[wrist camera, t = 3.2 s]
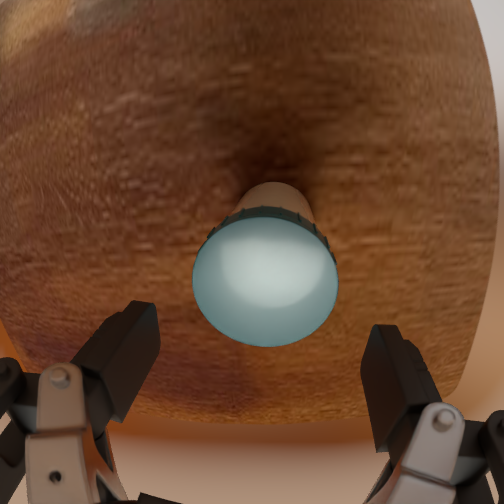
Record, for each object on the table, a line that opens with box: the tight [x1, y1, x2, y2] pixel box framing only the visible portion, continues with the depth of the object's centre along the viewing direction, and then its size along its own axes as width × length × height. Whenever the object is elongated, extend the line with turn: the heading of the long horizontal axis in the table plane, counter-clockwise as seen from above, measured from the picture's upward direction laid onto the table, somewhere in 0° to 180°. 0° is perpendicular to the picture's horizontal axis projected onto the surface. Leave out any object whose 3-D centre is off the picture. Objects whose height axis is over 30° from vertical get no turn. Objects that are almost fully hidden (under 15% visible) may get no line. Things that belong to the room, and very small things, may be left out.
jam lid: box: [192, 205, 339, 347], centre depth 14 cm, size 7×7×2 cm
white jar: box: [230, 182, 318, 229], centre depth 19 cm, size 6×6×11 cm
